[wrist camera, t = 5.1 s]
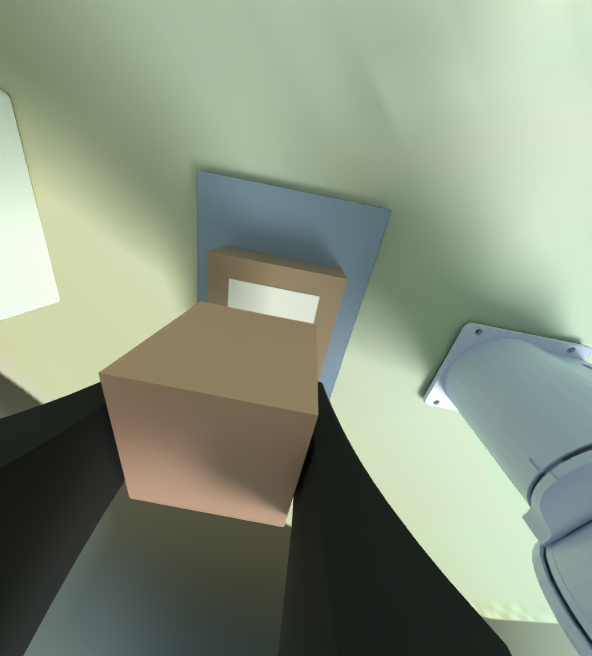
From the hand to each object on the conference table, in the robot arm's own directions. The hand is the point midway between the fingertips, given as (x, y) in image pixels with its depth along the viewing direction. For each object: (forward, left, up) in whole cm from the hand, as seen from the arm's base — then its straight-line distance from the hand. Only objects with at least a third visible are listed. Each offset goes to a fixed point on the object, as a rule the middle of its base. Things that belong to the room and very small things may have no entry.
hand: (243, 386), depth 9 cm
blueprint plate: (0, 0, -9) cm, 9 cm away
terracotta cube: (0, 0, -2) cm, 2 cm away
